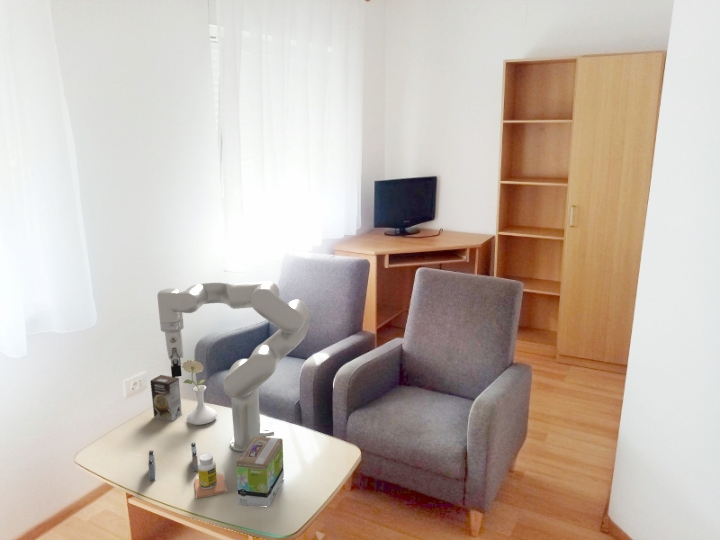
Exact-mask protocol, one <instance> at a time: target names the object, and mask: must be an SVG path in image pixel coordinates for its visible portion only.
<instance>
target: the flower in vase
mask: <svg viewBox="0 0 720 540" xmlns="http://www.w3.org/2000/svg"><path fill="white" fill-rule="evenodd" d="M204 368H205V367H204V365H202V362H199V361H196V360H191V359H190V360H189V359H188V360H187V359H186V361H184V362H183V363H182V364H181V369H183V370H184V371H185V372H188V373H191V379H185V380H184V381H183V382H182V383H183V384H189V385H191V384H194V385H195V386H194V387H193V388H192V390H193V392H195V394H196V399H197V406H196V407H195V408H194V409H192V410H191V411H190V412H189V413H188V414H187V416H186V421H187V422H188V423H189V424H192V425H196V426H199V425H201V426H202V425H205V424H208V423H211V422H213V421H215V420H216V418H217V416H218V413H217V411H216V410H215V409H214V408H212V407H209V406H208V405H207V404H205V401H204V393H205V391H206V389H207V386H206V385H204V384H203V383H205V381H206V379H205V378H204V379H201V380H199V381H198V382H197V384H196V382H195V381H194V378H193V377H194V376H193V374H199V373H200V372H201V373H202V372H203V370H204ZM202 384H203V385H202Z"/></svg>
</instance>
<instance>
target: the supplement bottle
mask: <svg viewBox="0 0 720 540" xmlns="http://www.w3.org/2000/svg"><path fill="white" fill-rule="evenodd" d="M197 474H198V479H199V486H200V488H202V489H211V488H213V487H214V486H215V485H216V484H217V476H216V475H217V465H216V462H215V460H214V455H213V454H211V453H204V454H202V455H200V456H199V462H198V472H197Z"/></svg>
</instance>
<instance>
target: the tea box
mask: <svg viewBox="0 0 720 540" xmlns="http://www.w3.org/2000/svg"><path fill="white" fill-rule="evenodd" d="M283 443H284V442H283V438H278V437H269V436H267V437H257V436H254V437H253V438H252V440H251V441H250V443H249V444H248V445H247V447H246V448H245V450H244V451H243V452H241V454H240V455H239V456H238V458H237V460H236V462H235V463H236V464H235V465H236V482H237V483H236V485H237V487H236V488H237V489H236V490H237V504H238V505H242V506H243V505H244V506H249V505H252V506H251V507H258V506H267V507H266V508H269V506H270V505H271V503H272V501H273V500H274V497H275V496H274V495H276V494H277V492H278V490H279V489H280V486H281V485H280V484H282V483H281V482H283V481H284V479H283V478H284V477H285V472H284V449H283V448H284V446H283V445H284V444H283ZM282 480H283V481H282Z"/></svg>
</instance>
